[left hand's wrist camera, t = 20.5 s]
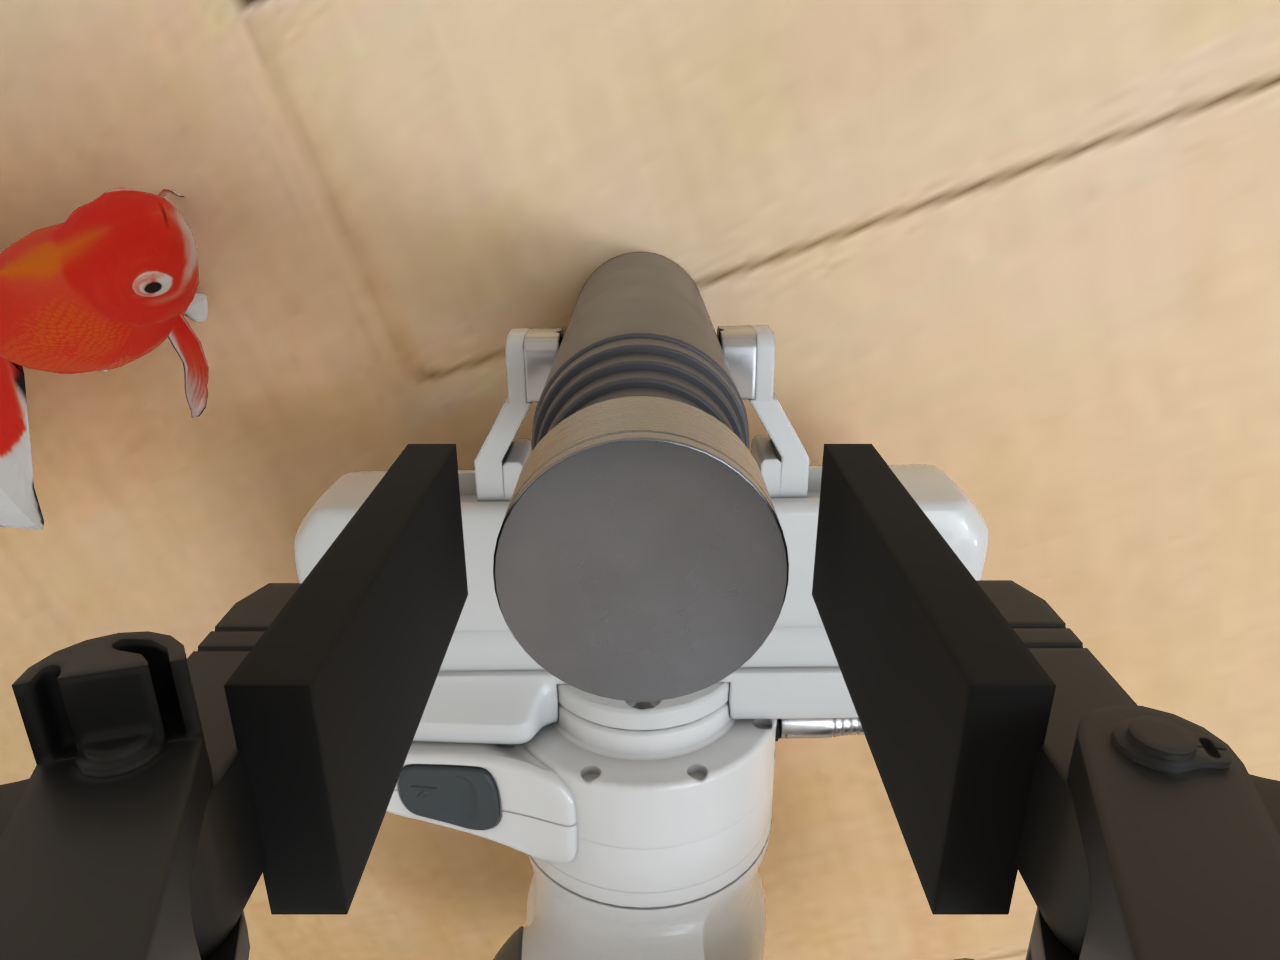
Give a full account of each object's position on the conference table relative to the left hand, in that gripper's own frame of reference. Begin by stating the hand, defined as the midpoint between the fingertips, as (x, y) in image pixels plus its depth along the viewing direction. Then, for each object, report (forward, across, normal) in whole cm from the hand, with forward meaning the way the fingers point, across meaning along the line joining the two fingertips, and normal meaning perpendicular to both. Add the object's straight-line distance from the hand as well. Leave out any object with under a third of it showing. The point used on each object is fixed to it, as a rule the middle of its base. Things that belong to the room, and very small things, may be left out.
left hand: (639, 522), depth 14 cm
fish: (+18, +19, 0) cm, 26 cm away
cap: (-2, 0, 0) cm, 2 cm away
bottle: (+18, 0, 0) cm, 18 cm away
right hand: (+11, 0, -1) cm, 11 cm away
